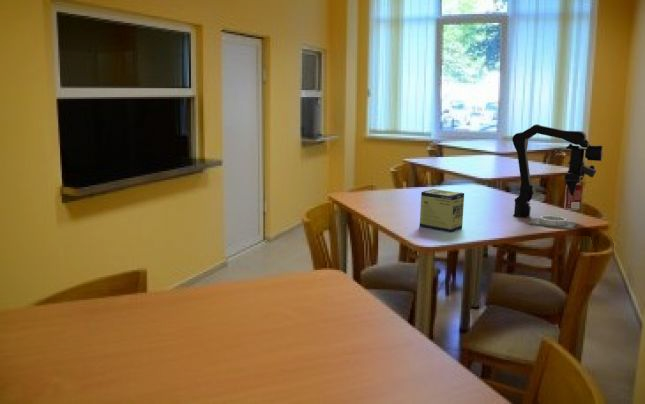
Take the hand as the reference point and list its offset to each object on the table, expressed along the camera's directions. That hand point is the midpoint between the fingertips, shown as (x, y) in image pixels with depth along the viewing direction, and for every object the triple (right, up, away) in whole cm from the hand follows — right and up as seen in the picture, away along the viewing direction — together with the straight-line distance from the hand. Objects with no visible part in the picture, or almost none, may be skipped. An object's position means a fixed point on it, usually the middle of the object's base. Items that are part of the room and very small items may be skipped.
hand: (573, 193), depth 265 cm
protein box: (-62, -15, -12) cm, 65 cm away
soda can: (0, -7, +1) cm, 7 cm away
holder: (-11, -14, -4) cm, 18 cm away
